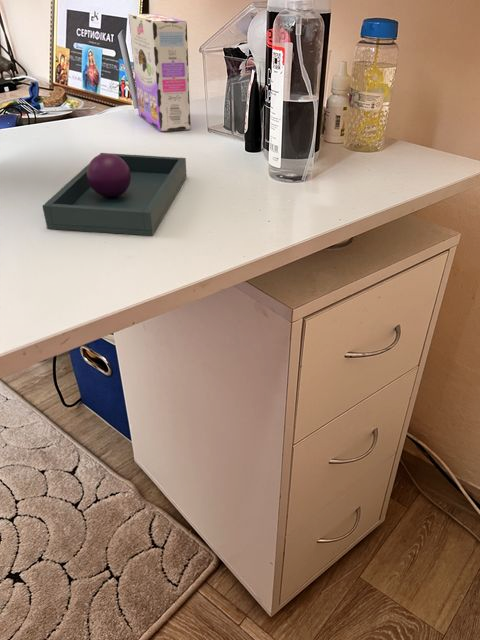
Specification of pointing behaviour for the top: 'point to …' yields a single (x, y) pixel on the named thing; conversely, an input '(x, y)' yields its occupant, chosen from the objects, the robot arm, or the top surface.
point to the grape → (108, 175)
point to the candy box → (161, 70)
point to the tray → (119, 199)
